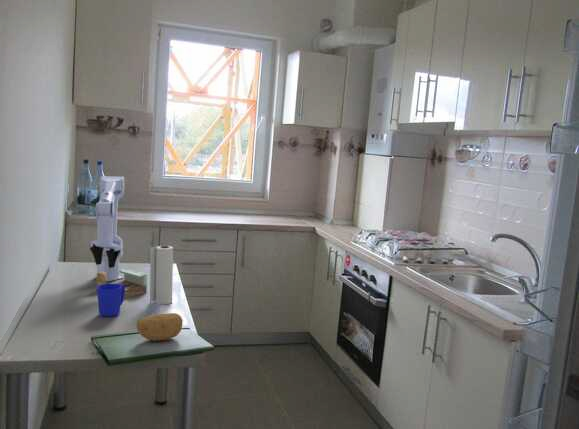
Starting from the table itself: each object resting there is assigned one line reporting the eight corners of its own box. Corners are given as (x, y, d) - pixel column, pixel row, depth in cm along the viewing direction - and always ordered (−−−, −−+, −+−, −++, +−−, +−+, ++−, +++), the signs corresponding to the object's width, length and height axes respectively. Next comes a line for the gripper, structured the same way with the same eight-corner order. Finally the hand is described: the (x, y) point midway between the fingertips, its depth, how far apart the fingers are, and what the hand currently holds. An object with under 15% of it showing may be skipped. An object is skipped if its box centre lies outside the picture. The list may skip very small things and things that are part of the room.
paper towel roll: (175, 301, 206) (176, 246, 203) (165, 305, 201) (166, 249, 198) (160, 298, 209) (160, 244, 206) (149, 302, 204) (150, 246, 201)
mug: (133, 309, 195) (133, 282, 193) (111, 319, 183) (111, 291, 182) (113, 306, 197) (114, 279, 196) (91, 316, 186) (91, 287, 185)
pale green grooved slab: (119, 288, 220) (119, 270, 219) (127, 286, 223) (127, 268, 222) (138, 294, 213) (138, 275, 212) (146, 292, 216) (146, 274, 215)
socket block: (101, 292, 213) (101, 285, 213) (127, 286, 223) (127, 279, 222) (121, 298, 206) (121, 291, 206) (146, 292, 216) (146, 285, 216)
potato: (134, 336, 170) (134, 311, 168) (179, 332, 175) (179, 308, 174) (137, 348, 161) (138, 322, 160) (185, 343, 166) (185, 318, 165)
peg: (94, 290, 216) (94, 272, 215) (102, 288, 219) (102, 271, 218) (100, 291, 214) (100, 274, 213) (108, 290, 217) (108, 273, 216)
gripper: (84, 230, 214) (84, 264, 215) (109, 235, 206) (109, 270, 208) (99, 228, 220) (99, 261, 221) (124, 233, 212) (123, 267, 214)
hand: (105, 265), depth 215 cm, fingers open, 7 cm apart
